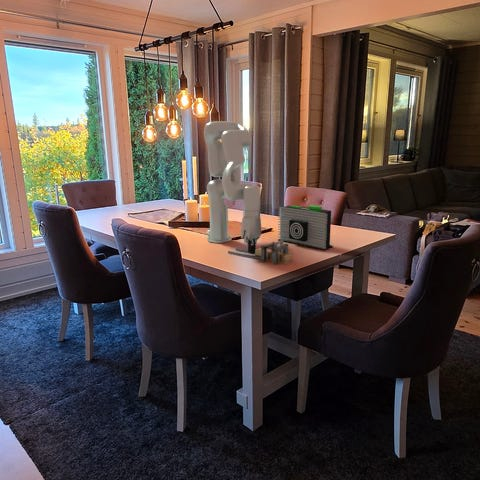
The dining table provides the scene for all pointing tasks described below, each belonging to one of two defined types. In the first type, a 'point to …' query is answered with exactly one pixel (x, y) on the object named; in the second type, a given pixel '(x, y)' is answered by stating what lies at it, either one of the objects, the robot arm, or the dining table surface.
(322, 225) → the electronic device
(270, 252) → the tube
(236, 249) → the guide
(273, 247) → the collar rig
